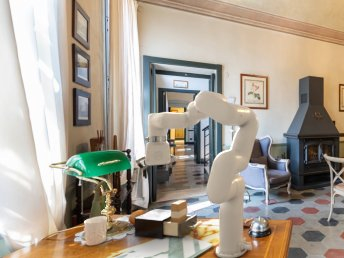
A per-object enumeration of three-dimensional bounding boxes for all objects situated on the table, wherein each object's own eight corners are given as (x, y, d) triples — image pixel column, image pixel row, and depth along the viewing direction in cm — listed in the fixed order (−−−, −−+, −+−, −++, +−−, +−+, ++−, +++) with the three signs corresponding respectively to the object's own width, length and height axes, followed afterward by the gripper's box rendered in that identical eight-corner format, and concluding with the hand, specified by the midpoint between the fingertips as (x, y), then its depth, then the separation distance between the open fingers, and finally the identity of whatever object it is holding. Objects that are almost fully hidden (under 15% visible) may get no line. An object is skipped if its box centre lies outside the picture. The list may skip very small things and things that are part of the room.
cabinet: (180, 227, 119) (180, 210, 119) (161, 238, 106) (161, 220, 106) (155, 224, 122) (155, 208, 122) (134, 235, 109) (134, 218, 109)
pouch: (104, 224, 123) (104, 176, 122) (120, 227, 118) (120, 178, 118) (79, 232, 112) (79, 181, 112) (95, 237, 108) (95, 183, 108)
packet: (187, 226, 114) (187, 200, 114) (178, 232, 108) (178, 204, 108) (179, 226, 115) (179, 199, 115) (170, 231, 109) (170, 203, 109)
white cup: (94, 247, 99) (94, 223, 99) (79, 245, 100) (79, 222, 100) (111, 238, 106) (111, 216, 106) (97, 236, 108) (97, 215, 108)
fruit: (153, 219, 125) (145, 208, 122) (140, 231, 120) (131, 220, 116) (145, 216, 130) (137, 205, 126) (132, 227, 124) (123, 217, 120)
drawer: (205, 228, 115) (205, 215, 115) (190, 239, 104) (190, 225, 104) (173, 225, 119) (173, 212, 119) (155, 235, 108) (155, 221, 108)
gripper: (135, 140, 100) (135, 180, 100) (179, 139, 110) (179, 175, 110) (135, 140, 106) (135, 177, 106) (176, 139, 116) (176, 173, 116)
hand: (157, 176), depth 108 cm, fingers open, 9 cm apart
